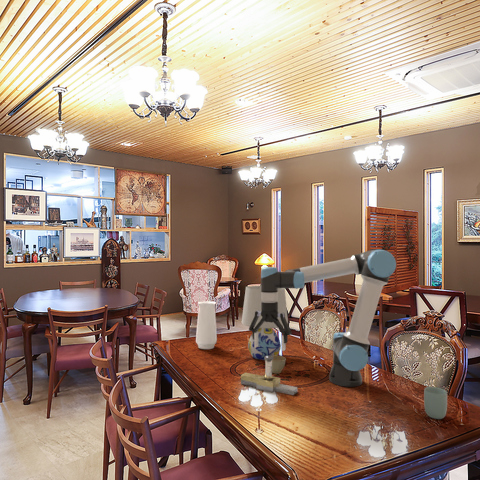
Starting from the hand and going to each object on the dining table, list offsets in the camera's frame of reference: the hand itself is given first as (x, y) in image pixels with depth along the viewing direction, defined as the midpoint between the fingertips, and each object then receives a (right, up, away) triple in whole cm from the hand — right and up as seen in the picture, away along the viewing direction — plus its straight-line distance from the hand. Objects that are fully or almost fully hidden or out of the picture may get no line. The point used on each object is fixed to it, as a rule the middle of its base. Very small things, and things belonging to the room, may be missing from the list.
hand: (269, 348), depth 173 cm
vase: (-35, -19, +68) cm, 79 cm away
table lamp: (+1, -19, +49) cm, 53 cm away
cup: (+61, -18, -28) cm, 69 cm away
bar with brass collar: (-1, -18, 0) cm, 18 cm away
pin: (-1, -18, 0) cm, 18 cm away
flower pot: (+5, -18, +22) cm, 29 cm away
